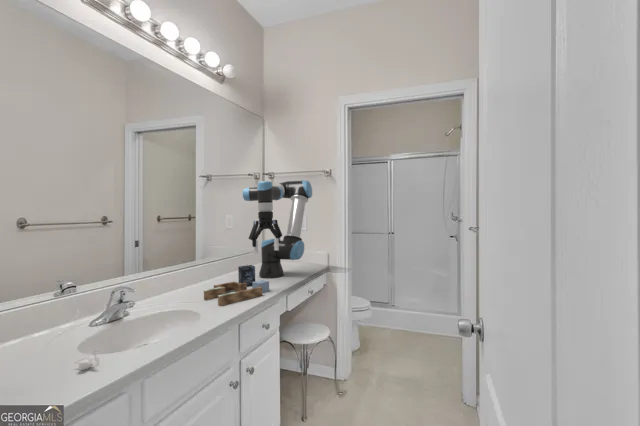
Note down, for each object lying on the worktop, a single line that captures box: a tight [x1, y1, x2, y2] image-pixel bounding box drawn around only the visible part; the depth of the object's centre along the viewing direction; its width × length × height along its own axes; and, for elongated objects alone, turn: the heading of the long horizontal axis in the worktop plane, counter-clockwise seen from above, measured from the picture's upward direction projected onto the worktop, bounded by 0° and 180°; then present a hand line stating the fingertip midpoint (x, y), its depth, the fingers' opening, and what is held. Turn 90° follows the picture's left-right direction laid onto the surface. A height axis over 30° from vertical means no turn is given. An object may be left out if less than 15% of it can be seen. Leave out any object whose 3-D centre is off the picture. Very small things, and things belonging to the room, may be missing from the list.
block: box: [251, 279, 270, 294], centre depth 159 cm, size 6×6×5 cm
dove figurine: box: [74, 349, 100, 371], centre depth 83 cm, size 8×5×5 cm, turn 78°
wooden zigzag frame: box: [203, 281, 263, 307], centre depth 151 cm, size 22×22×4 cm
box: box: [237, 264, 256, 287], centre depth 173 cm, size 8×6×11 cm
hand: (266, 251), depth 164 cm, fingers open, 13 cm apart
